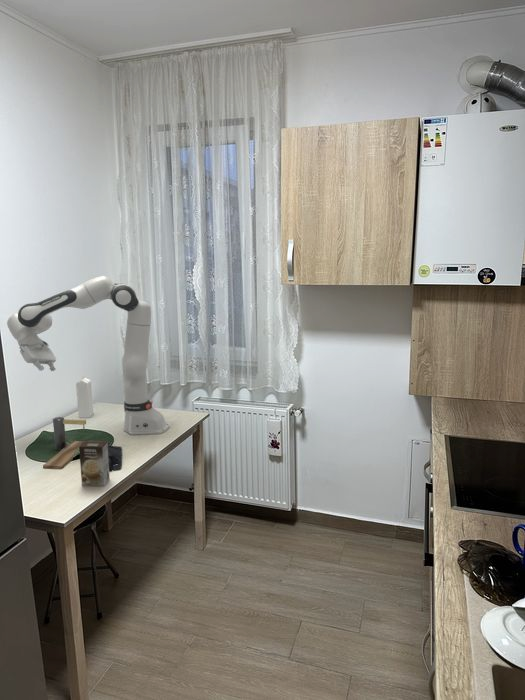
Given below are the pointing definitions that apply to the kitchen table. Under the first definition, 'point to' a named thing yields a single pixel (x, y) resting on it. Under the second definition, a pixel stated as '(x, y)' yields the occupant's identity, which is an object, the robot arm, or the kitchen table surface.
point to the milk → (84, 398)
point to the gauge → (63, 430)
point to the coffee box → (94, 463)
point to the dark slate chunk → (115, 457)
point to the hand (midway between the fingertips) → (48, 370)
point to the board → (63, 456)
